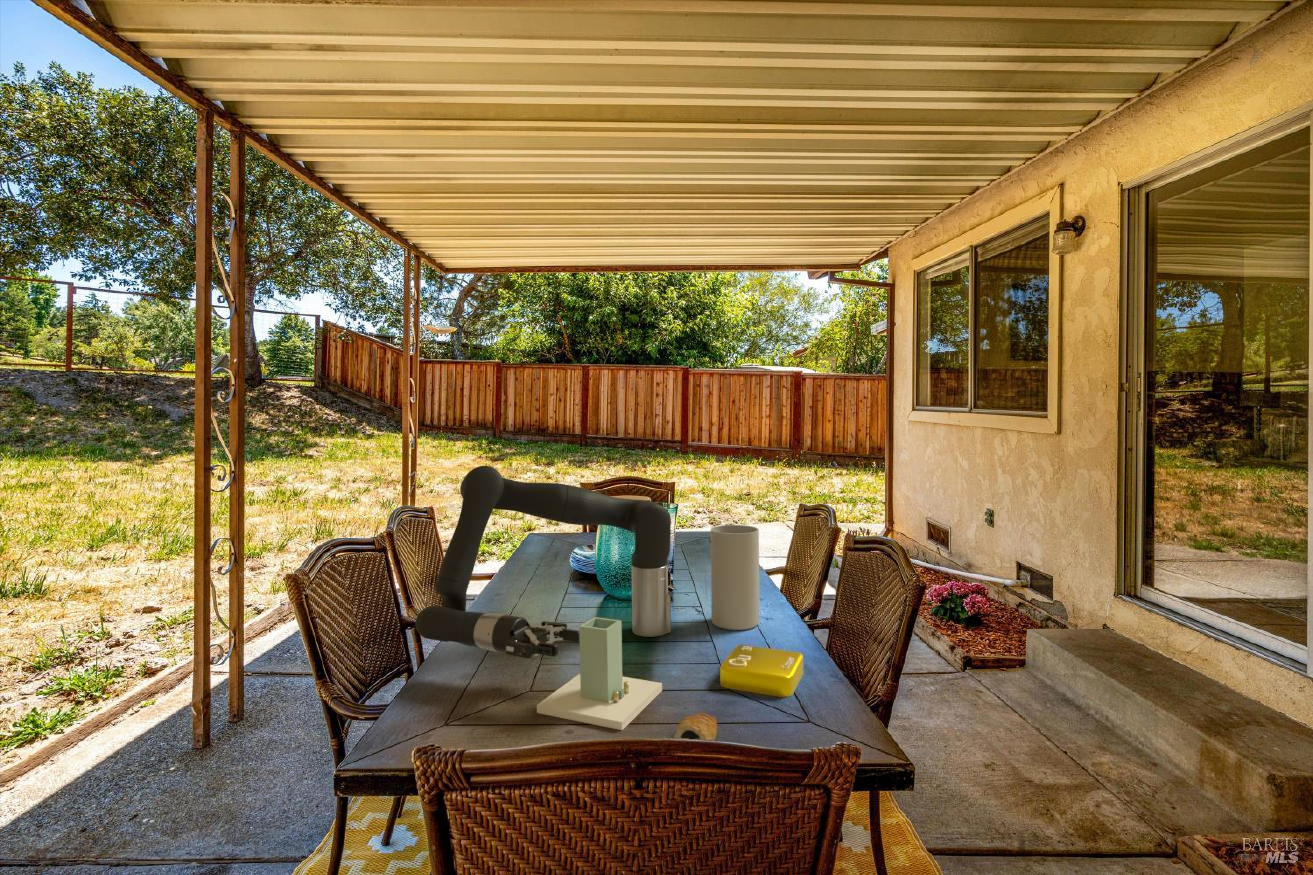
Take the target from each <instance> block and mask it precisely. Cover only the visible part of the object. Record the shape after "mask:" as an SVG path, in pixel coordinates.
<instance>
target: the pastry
mask: <svg viewBox="0 0 1313 875" xmlns="http://www.w3.org/2000/svg"><path fill="white" fill-rule="evenodd" d="M717 734H718V720H717V719H716V717H715V716H713V715H710V714H706V713H704V712H700V713H696V714H692V715H688V716H686V717H684V718H683V719H682V721H680V722H679V723H678V724H677V725H676V732H675V734H674V735H673V739H674V738H689V739H701V740H712V741H714V742H715V740H716V737H717Z"/></svg>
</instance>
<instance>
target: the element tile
mask: <svg viewBox="0 0 1313 875" xmlns="http://www.w3.org/2000/svg"><path fill="white" fill-rule="evenodd" d="M719 669H720V670H719V672H720V673H719V675H720V676H719V678H720V679H719V682H720V686H721V687H723V688H726V689H729V690H730V689H731V690H736V691H741V692H742V691H743V692H748V693H750V692H751V693H756V694H761V695H762V694H763V695H767V696H774V697H780V698H781V697H783V698H786V697H791V696H793V694H794V693H795V691H796V688H797V686H798V685H799V683H800V682H801V679H802V677H803V675H804V656H803V654H802V653H801V652H799V651H798V652H797V651H792V650H784V649H776V648H770V647H762V646H753V645H745V644H740V645H738V646H736V647H735V648H733V650H732V651H731V653H729V655H728V656H727V657H726V658H725V660H724V661H722V663H721V664H720V667H719Z"/></svg>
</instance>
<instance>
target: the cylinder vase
mask: <svg viewBox="0 0 1313 875" xmlns="http://www.w3.org/2000/svg"><path fill="white" fill-rule="evenodd" d="M759 539H760V530H759V527H755V526H750V525H746V524H745V525H743V524H727V525H726V524H725V525H717V526H713V527H711V528H710V581H711V582H710V589H711V590H710V591H711V594H710V596H711V598H710V599H711V606H710V608H711V610H710V611H711V623H712V624H713V625H714V626H715V627H717V628H720V629H723V630H729V631H746V630H750V629H753V628H755V627H757V626H758V625H759V623H760V540H759Z"/></svg>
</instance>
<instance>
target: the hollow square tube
mask: <svg viewBox="0 0 1313 875" xmlns="http://www.w3.org/2000/svg"><path fill="white" fill-rule="evenodd" d="M578 627H579V628H578V629H579V630H578V631H579V633H580V641H579V668H580V669H579V672H580V673H579V674H580V685H581V698H585V699H590V700H595V701H601V702H606V703H609V702H610V701H611V700H612V699H613V691H618V692H619V699H622V698H623V697H624V689H623V688H622V676H623V646H622V645H623V641H622V640H623V637H622V636H623V635H622V634H623V632H622V629H623V628H622V620H619V619H611V618H605V617H597V616H594V617H593V618H591V619H589V620H588V621H586V622H584V623H583V624H581V625H579V626H578Z"/></svg>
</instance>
